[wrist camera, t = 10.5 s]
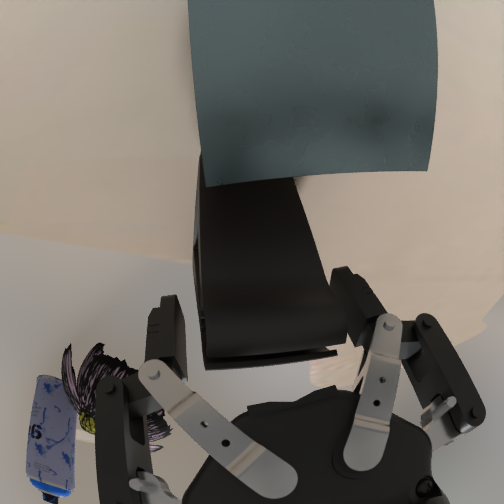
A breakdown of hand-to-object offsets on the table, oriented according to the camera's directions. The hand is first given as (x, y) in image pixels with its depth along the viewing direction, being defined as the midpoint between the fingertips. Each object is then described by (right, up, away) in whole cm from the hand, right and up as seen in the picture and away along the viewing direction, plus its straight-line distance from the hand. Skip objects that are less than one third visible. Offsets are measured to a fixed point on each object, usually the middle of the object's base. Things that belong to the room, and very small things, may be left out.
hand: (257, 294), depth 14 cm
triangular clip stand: (-2, +5, +7) cm, 8 cm away
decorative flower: (-17, -12, +15) cm, 26 cm away
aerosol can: (-30, -19, +17) cm, 40 cm away
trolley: (+2, +18, -2) cm, 18 cm away
